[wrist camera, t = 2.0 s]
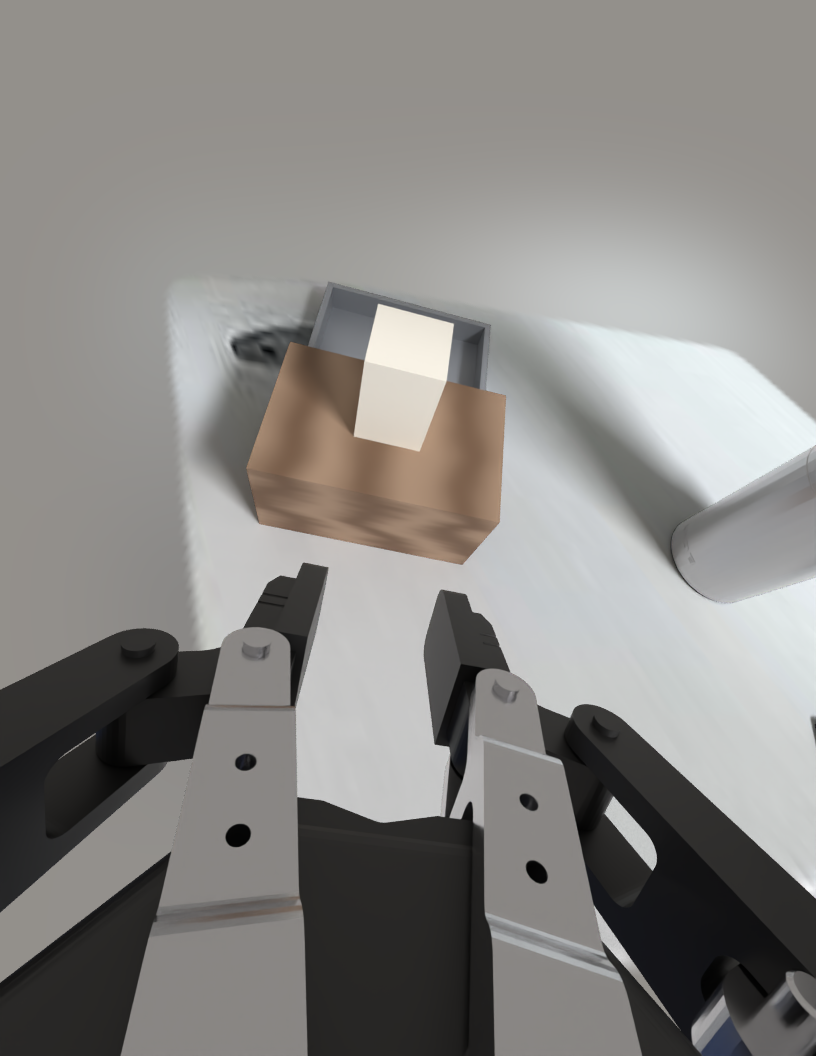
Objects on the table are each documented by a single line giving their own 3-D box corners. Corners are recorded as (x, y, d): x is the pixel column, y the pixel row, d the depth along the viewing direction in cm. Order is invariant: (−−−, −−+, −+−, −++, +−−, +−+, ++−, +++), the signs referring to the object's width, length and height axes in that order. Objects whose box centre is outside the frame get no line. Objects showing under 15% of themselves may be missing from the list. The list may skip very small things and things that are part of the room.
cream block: (427, 400, 36) (453, 323, 29) (419, 451, 34) (446, 381, 27) (365, 385, 36) (378, 303, 29) (353, 436, 33) (364, 361, 27)
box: (481, 345, 53) (490, 325, 50) (472, 451, 46) (482, 433, 44) (327, 305, 51) (328, 281, 48) (295, 409, 44) (294, 388, 41)
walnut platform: (471, 455, 46) (505, 395, 38) (462, 564, 41) (499, 522, 33) (293, 413, 44) (290, 341, 36) (259, 523, 39) (246, 468, 31)
